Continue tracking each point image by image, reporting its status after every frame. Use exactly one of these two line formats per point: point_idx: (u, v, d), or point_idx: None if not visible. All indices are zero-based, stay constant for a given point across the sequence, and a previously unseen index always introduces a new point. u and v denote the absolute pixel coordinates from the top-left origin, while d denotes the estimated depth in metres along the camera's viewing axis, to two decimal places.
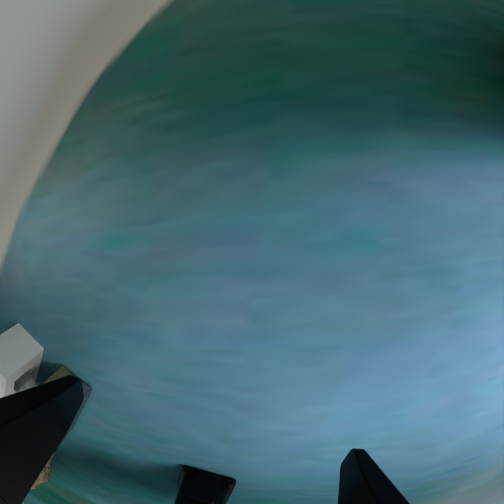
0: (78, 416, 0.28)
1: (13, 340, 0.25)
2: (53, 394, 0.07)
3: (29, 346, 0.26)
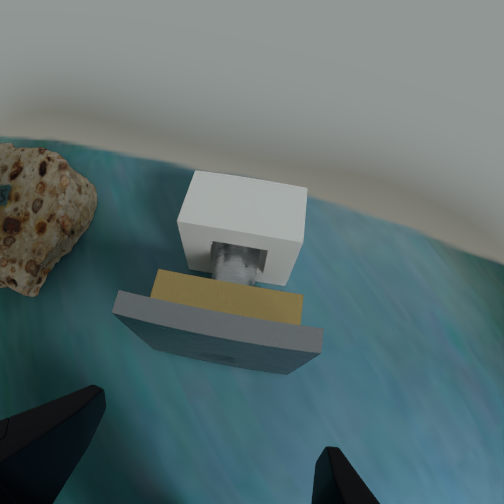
0: None
1: None
2: (77, 406, 0.07)
3: None
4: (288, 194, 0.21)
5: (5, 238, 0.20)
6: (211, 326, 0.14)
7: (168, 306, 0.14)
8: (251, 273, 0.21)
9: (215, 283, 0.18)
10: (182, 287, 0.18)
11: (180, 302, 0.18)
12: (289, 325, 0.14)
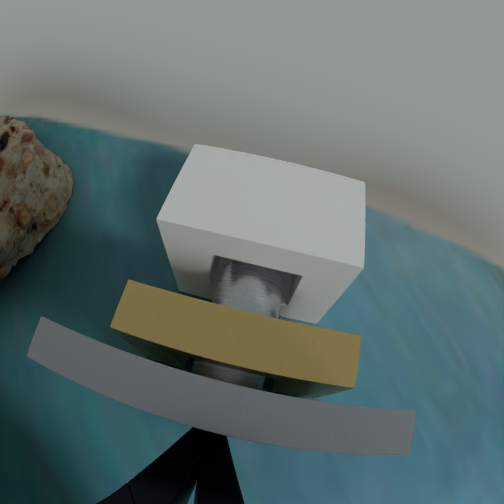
0: None
1: None
2: (197, 452, 0.07)
3: None
4: (338, 189, 0.13)
5: None
6: (205, 411, 0.06)
7: (122, 361, 0.06)
8: (277, 295, 0.13)
9: (219, 310, 0.11)
10: (163, 313, 0.11)
11: (158, 338, 0.10)
12: (360, 409, 0.06)
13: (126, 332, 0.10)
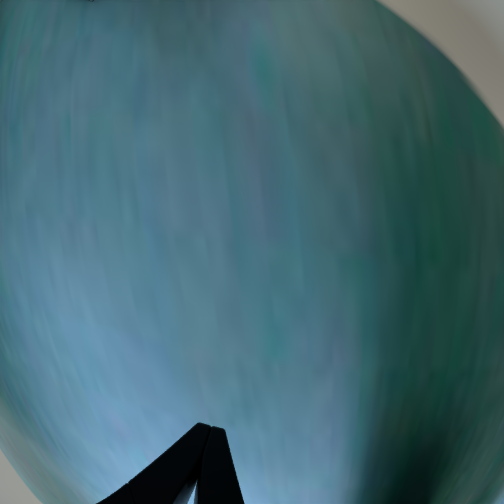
0: None
1: None
2: (197, 452, 0.07)
3: None
4: None
5: None
6: None
7: None
8: None
9: None
10: None
11: None
12: None
13: None
